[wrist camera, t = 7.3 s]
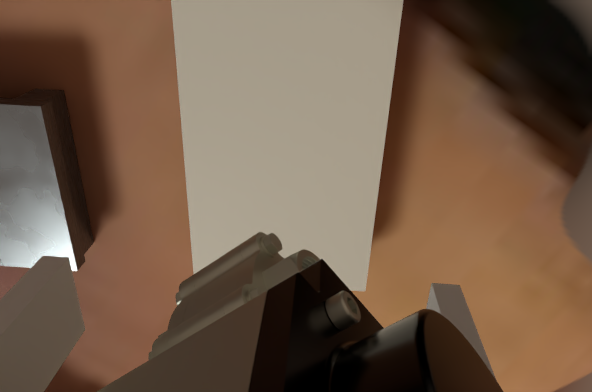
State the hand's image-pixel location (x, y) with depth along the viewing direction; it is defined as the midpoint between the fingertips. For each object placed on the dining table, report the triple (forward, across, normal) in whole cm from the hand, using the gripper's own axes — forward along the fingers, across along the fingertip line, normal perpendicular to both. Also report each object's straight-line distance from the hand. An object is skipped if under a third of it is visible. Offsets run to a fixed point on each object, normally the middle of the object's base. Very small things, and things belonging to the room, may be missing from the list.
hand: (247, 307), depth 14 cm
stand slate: (+14, -16, -3) cm, 22 cm away
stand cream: (+14, 0, 0) cm, 14 cm away
